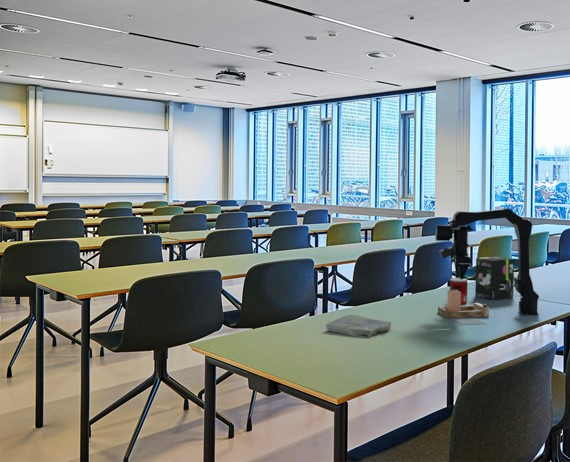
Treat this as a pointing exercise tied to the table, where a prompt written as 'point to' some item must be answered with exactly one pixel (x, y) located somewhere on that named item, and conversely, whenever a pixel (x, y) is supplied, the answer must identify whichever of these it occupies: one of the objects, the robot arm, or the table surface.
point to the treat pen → (461, 312)
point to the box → (494, 278)
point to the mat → (468, 321)
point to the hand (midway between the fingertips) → (459, 277)
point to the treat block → (453, 300)
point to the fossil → (358, 326)
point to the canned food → (460, 287)
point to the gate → (482, 308)
